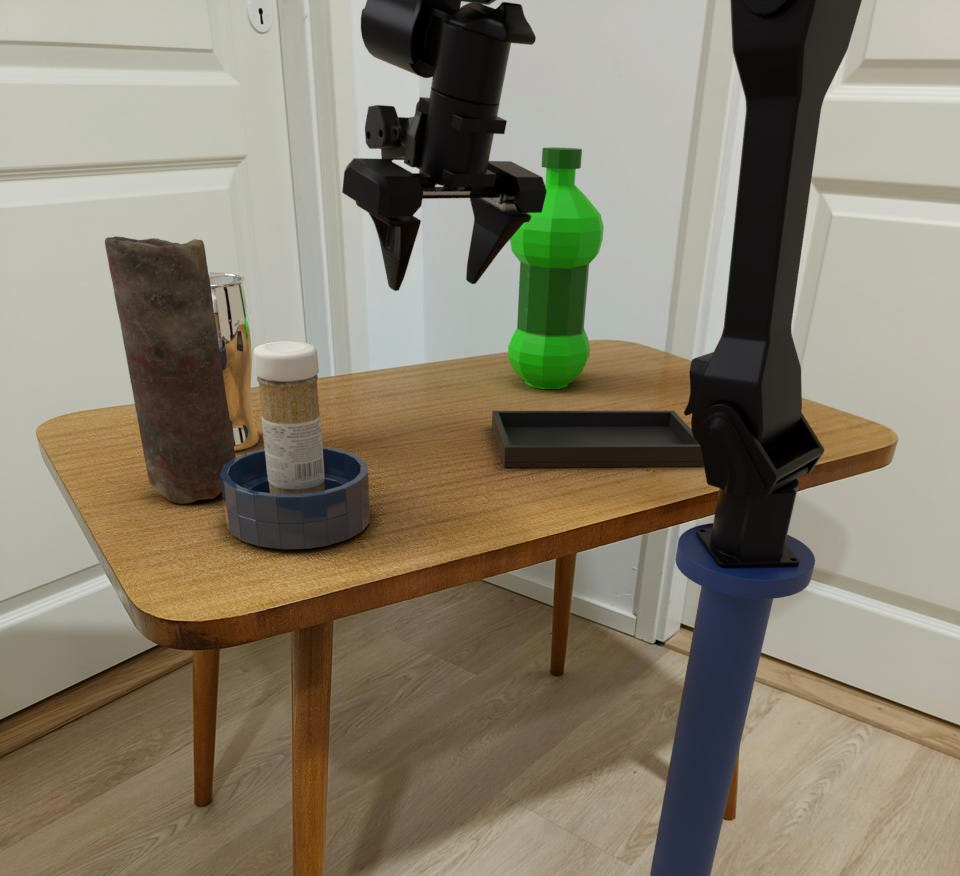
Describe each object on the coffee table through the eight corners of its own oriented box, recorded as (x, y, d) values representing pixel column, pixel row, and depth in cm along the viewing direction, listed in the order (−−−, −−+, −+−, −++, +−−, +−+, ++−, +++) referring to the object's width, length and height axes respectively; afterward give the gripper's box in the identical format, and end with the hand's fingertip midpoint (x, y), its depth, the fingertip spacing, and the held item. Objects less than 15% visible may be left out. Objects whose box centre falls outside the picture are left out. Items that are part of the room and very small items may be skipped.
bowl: (369, 552, 67) (367, 496, 65) (217, 554, 66) (209, 497, 64) (370, 495, 77) (368, 444, 74) (237, 496, 76) (231, 445, 73)
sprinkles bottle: (318, 504, 74) (306, 337, 67) (335, 525, 70) (325, 351, 63) (263, 512, 72) (245, 341, 65) (278, 534, 69) (261, 356, 62)
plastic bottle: (562, 369, 114) (579, 146, 101) (604, 391, 106) (628, 151, 93) (491, 375, 111) (499, 145, 98) (529, 399, 102) (543, 151, 89)
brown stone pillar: (134, 485, 77) (87, 232, 67) (211, 466, 81) (179, 226, 71) (175, 512, 72) (132, 245, 62) (255, 491, 77) (227, 238, 66)
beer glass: (278, 439, 88) (263, 278, 80) (226, 459, 83) (204, 288, 75) (227, 425, 91) (209, 269, 83) (174, 444, 86) (149, 278, 78)
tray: (703, 466, 85) (707, 446, 84) (504, 467, 83) (505, 447, 82) (671, 429, 95) (674, 410, 93) (491, 429, 93) (492, 410, 92)
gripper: (487, 75, 82) (456, 248, 92) (314, 58, 71) (299, 257, 81) (569, 111, 77) (527, 291, 87) (396, 99, 66) (370, 307, 76)
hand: (433, 285), depth 83 cm, fingers open, 9 cm apart
